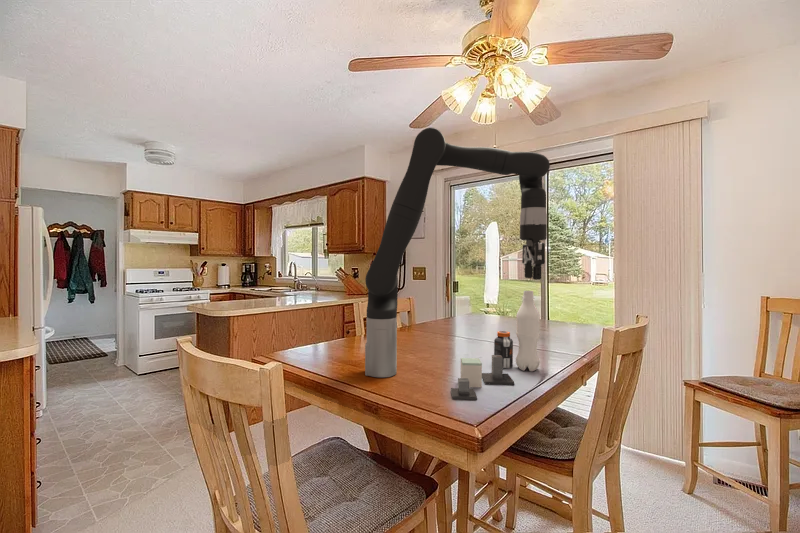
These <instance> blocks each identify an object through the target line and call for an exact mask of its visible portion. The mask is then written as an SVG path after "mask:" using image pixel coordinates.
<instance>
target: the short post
mask: <svg viewBox="0 0 800 533" xmlns="http://www.w3.org/2000/svg"><path fill="white" fill-rule="evenodd" d="M450 393H451V397H452V398H451V399H452V400H455V401H457V400H461V401H477V400H478V397H477V396H478V395H477V393H476V391H475V388H470V387H469V379H468V378H461V377H459V378H457V388H456V387H451V388H450Z"/></svg>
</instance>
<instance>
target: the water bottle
mask: <svg viewBox="0 0 800 533" xmlns="http://www.w3.org/2000/svg"><path fill="white" fill-rule="evenodd" d="M534 299H535V297H534V290H523V295H522V303H521V305H520V306H519V309H518V310H517V313H516V314H515V315H516V332H515V334H516V337H517V341H518V352H517V355H516V358H515V362H516V366H517V367H518V368H519V370H520V371H525V370H526V369H528V371H529V372H535V371H536V370H538V368H539V366H540V361H541V360H540V357H539V355H538V349H537V348H538V342H539V339H540V337H541V333H540V324H541V323H540V321H541V315H540V312H539V310H538V308H537V307H536V305H535V304H536V303H535V301H534Z"/></svg>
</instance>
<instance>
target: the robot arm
mask: <svg viewBox="0 0 800 533" xmlns="http://www.w3.org/2000/svg"><path fill="white" fill-rule="evenodd" d="M550 163H551V162H550V160H549V159H548V157H547V156H545V155H544V154H541V153H538V152H533V151H510V150H507V149H502V148H496V147H491V146H490V147H489V146H460V145H455V144H453V143H449V142H446V140H445V137H444V135H443V133H442V131H440V130H439V129H437V128H436V127H427V128H423V129H422V130H421V131H420V132H419V133H418V134H417V135H416V137H415V139H414V143H413V147H412V151H411V155H410V160H409V164H408V166H407V169H406V172H405V175H404V176H403V179H402V181H401V183H400V186H399V187H398V190H397V193H396V194H395V197H394V199H393V202H392V204H391V207H390V210H389V213H388V216H387V219H386V222H385V226H384V228H383V229H384V230H383V232H382V237H381V240H380V244H379V247H378V250H377V251H376V254H375V256H374V258H373V261H372V262H371V264H370V266H369V269H368V271H367V272H366V275H365V282H364V283H365V287H366V288H367V289H368V290H367V305H366V341H365V345H364V350H365V351H364V354H365V355H364V374H365V377H366V376H367V377H368V376H369V377H373V378H389V377H393V376H395V375H396V374H397V372H398V371H397V366H398V365H397V361H398V359H397V355H398V354H397V350H398V349H397V346H398V345H397V342H398V340H397V339H398V333H397V332H398V330H397V328H398V326H397V325H398V322H397V320H398V319H397V318H398V291H399V290H398V287H399V286H398V284H399V281H398V273H399V268H400V264H401V262H402V258H403V256H404V253H405V251H406V250H407V247H408V245H409V244H410V242H411V240H412V239H413V236H414V234H415V232H416V230H417V227H418V224H419V222H420V220H421V217H422V214H423V211H424V209H425V208H424V207H425V204H426V200H427V196H428V190H429V186H430V182H431V178H432V176H433V173H434V171H435V168H436V166H439V167H440V166H442V167H444V166H445V167H457V168H466V169H471V170H477V171H482V172H485V173H486V172H487V173H492V174H497V175H503V176H508V175H518V181H519V186H520V188H519V189H520V192H521V193H520V194H521V196H520V214H519V240H521V241H526V242H525V244H522V254H521V255H522V262H521V263H522V264H523V266H524V278H525V279H533V280H535V281H536V280H539V281H540V280H541V279H542V267H543V265H544V264H546V260H545V259H546V255H545V254H546V252H545V247H546V245H545V244H546V243H545V242H541V241H545V240H547V238H548V236H547V235H548V233H547V232H548V231H547V230H548V226H547V225H548V215H547V192H546V190H545V189H544V188H543V177H544V176H546V175H547V173H548V172H549V170H550V166H551V164H550Z"/></svg>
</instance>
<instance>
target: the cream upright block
mask: <svg viewBox="0 0 800 533" xmlns="http://www.w3.org/2000/svg"><path fill="white" fill-rule="evenodd" d="M482 368H483V363H482V361H481V360H480V358H473V357H471V358H470V357H469V358H468V357H460V378H468V379H469V388H482V385H483V384H482V383H483V382H482V381H483V379H482V373H483V370H482Z"/></svg>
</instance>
